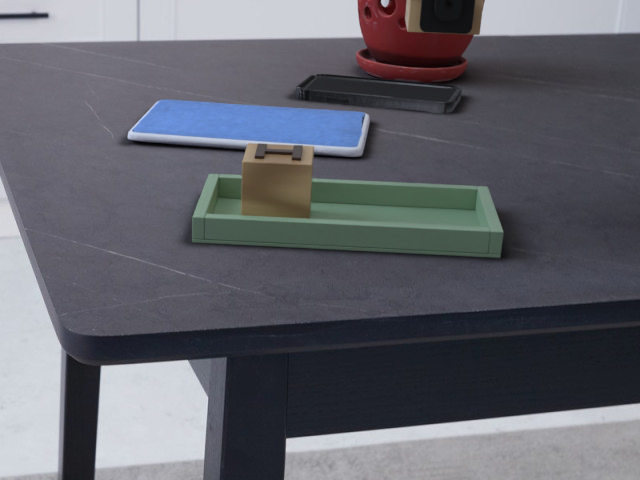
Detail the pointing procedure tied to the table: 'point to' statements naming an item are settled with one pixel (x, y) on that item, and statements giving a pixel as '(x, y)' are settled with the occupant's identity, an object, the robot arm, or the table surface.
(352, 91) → the dark grey shallow tray
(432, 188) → the tray
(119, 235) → the table surface
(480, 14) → the wooden letter block
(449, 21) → the robot arm
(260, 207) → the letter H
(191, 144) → the tablet
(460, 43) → the flower pot
